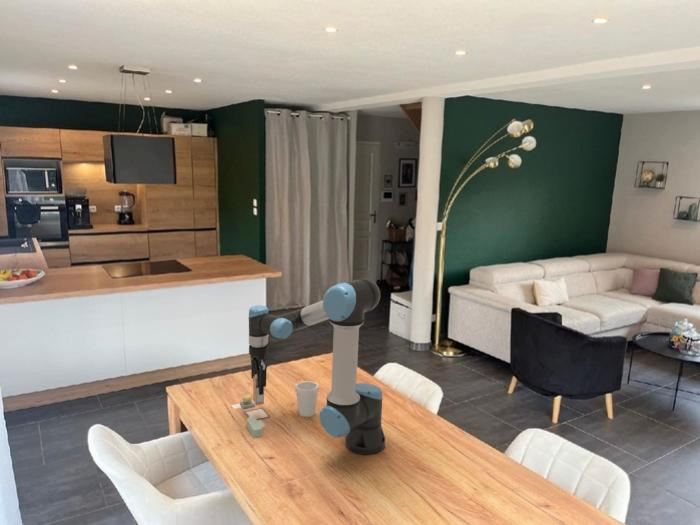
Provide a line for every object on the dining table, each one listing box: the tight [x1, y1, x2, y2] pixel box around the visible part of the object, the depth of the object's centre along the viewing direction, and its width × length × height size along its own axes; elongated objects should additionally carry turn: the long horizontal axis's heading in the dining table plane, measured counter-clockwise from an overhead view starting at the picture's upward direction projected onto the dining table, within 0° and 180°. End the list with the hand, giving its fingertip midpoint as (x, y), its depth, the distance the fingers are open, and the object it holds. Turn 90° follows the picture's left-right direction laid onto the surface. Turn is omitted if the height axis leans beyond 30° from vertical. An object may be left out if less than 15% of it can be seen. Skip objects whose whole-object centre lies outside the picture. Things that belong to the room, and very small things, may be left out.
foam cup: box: [295, 380, 319, 418], centre depth 216 cm, size 10×9×13 cm
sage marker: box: [245, 417, 264, 439], centre depth 201 cm, size 10×3×3 cm, turn 29°
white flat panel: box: [230, 399, 271, 428], centre depth 214 cm, size 28×14×2 cm, turn 29°
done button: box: [242, 393, 253, 402], centre depth 222 cm, size 4×4×2 cm
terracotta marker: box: [252, 373, 265, 406], centre depth 210 cm, size 3×3×12 cm
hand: (258, 399), depth 211 cm, fingers closed on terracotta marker, 3 cm apart
